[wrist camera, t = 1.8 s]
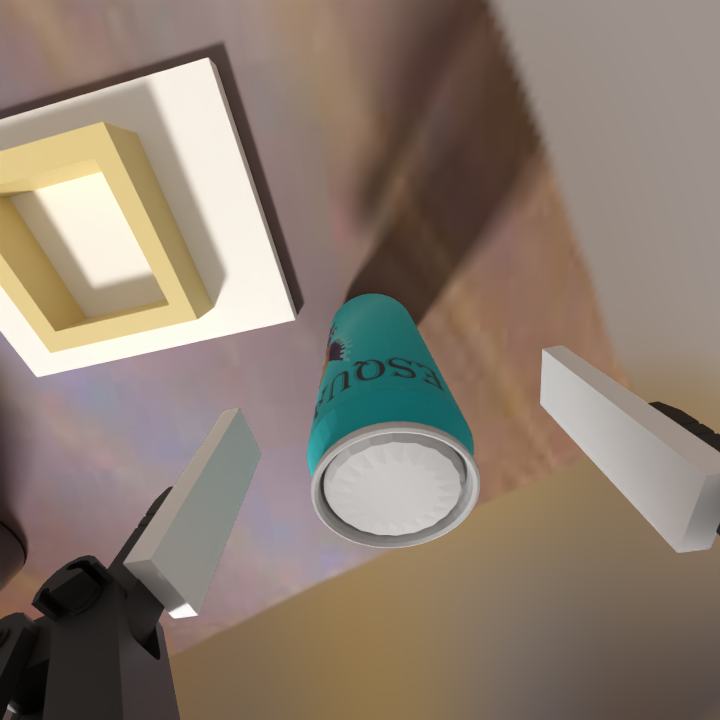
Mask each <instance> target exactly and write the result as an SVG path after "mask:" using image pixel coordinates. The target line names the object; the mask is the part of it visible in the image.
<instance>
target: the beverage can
mask: <svg viewBox="0 0 720 720" xmlns="http://www.w3.org/2000/svg"><path fill="white" fill-rule="evenodd" d="M307 460H308V467H309V470H310V473H311V476H312V480H311V498H312V503H313V506H314V509H315V511H316V513H317V514H318V516H319V518H320V519H321V520H322V521H323V523H324V524H325V525H326V526H327V527H328V528H330V529H331V530H332V531H333V532H335V533H336V534H338V535H340V536H341V537H343V538H345V539H348V540H350V541H352V542H355V543H358V544H362V545H366V546H371V547H380V548H400V547H408V546H413V545H418V544H422V543H425V542H428V541H431V540H433V539H436V538H438V537H440V536H442V535H444V534H446V533H447V532H449V531H451V530H452V529H454V528H455V527H456V526H457V525H459V524H460V523H461V522H462V521H463V520H464V519H465V518H466V517H467V516H468V515H469V513H470V512H471V510H472V509H473V507H474V505H475V503H476V501H477V499H478V495H479V491H480V476H479V471H478V466H477V464H476V462H475V460H474V458H473V439H472V434H471V431H470V429H469V427H468V424H467V422H466V421H465V419H464V417H463V415H462V413H461V411H460V409H459V407H458V405H457V403H456V402H455V400H454V398H453V396H452V394H451V392H450V390H449V388H448V386H447V384H446V383H445V381H444V379H443V377H442V375H441V373H440V371H439V369H438V367H437V365H436V363H435V362H434V360H433V358H432V356H431V354H430V352H429V350H428V348H427V346H426V344H425V343H424V341H423V339H422V337H421V335H420V333H419V331H418V329H417V327H416V325H415V324H414V322H413V320H412V318H411V316H410V314H409V313H408V311H407V310H406V308H405V307H404V306H403V305H402V304H401V303H399V302H398V301H397V300H395V299H393V298H391V297H389V296H386V295H383V294H364V295H360V296H357V297H355V298H353V299H351V300H349V301H348V302H346V303H345V304H344V305H343V306H342V307H341V308H340V309H339V310H338V312H337V313H336V315H335V317H334V319H333V321H332V324H331V329H330V334H329V339H328V344H327V349H326V355H325V360H324V365H323V370H322V376H321V381H320V386H319V391H318V396H317V402H316V407H315V412H314V417H313V423H312V428H311V433H310V438H309V444H308V451H307Z"/></svg>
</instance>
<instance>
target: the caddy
mask: <svg viewBox="0 0 720 720" xmlns="http://www.w3.org/2000/svg"><path fill="white" fill-rule="evenodd" d="M296 317H297V313H296V309H295V306H294V303H293V300H292V297H291V294H290V291H289V288H288V285H287V282H286V279H285V276H284V273H283V269H282V266H281V263H280V260H279V257H278V254H277V251H276V248H275V245H274V242H273V239H272V236H271V233H270V230H269V226H268V223H267V220H266V217H265V214H264V211H263V208H262V205H261V202H260V199H259V196H258V193H257V190H256V186H255V183H254V180H253V177H252V174H251V171H250V168H249V165H248V162H247V159H246V156H245V153H244V150H243V147H242V143H241V140H240V137H239V134H238V131H237V128H236V125H235V122H234V119H233V116H232V113H231V110H230V107H229V103H228V100H227V97H226V94H225V91H224V88H223V85H222V82H221V79H220V76H219V73H218V70H217V67H216V65H215V64H214V63H213V62H212V61H211V60H210V59H209V58H204V59H201V60H198V61H194V62H191V63H188V64H184V65H181V66H178V67H174V68H171V69H168V70H164V71H161V72H158V73H154V74H151V75H148V76H144V77H141V78H138V79H134V80H131V81H128V82H124V83H121V84H118V85H114V86H111V87H108V88H104V89H101V90H98V91H94V92H91V93H88V94H84V95H81V96H77V97H74V98H71V99H67V100H64V101H61V102H57V103H54V104H51V105H47V106H44V107H41V108H37V109H34V110H31V111H27V112H24V113H21V114H17V115H14V116H11V117H7V118H4V119H1V120H0V331H1V332H2V333H3V335H4V336H5V337H6V339H7V340H8V341H9V342H10V344H11V345H12V346H13V347H14V349H15V350H16V351H17V353H18V354H19V355H20V356H21V358H22V359H23V360H24V361H25V363H26V364H27V365H28V367H29V368H30V369H31V370H32V372H33V373H34V374H35V375H36V377H41V376H45V375H50V374H54V373H59V372H63V371H68V370H72V369H77V368H81V367H85V366H90V365H94V364H99V363H103V362H108V361H112V360H117V359H121V358H126V357H130V356H135V355H139V354H144V353H148V352H153V351H157V350H162V349H166V348H171V347H175V346H180V345H184V344H189V343H193V342H198V341H202V340H207V339H211V338H216V337H220V336H225V335H229V334H234V333H238V332H243V331H247V330H252V329H256V328H261V327H265V326H270V325H274V324H279V323H283V322H288V321H292V320H295V319H296Z"/></svg>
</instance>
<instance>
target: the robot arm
mask: <svg viewBox="0 0 720 720" xmlns="http://www.w3.org/2000/svg"><path fill="white" fill-rule="evenodd" d="M540 404H541V405H542V406H543V407H544V409H545V410H546V411H547V412H548V413H549V414H550V415H551V416H552V417H553V418H554V419H555V421H556V422H557V423H558V424H559V425H560V426H561V427H562V428H563V429H564V430H565V431H566V432H567V434H568V435H569V436H570V437H571V438H572V439H573V440H574V441H575V442H576V443H577V444H578V445H579V447H580V448H581V449H582V450H583V451H584V452H585V453H586V454H587V455H588V456H589V457H590V458H591V460H592V461H593V462H594V463H595V464H596V465H597V466H598V467H599V468H600V469H601V470H602V472H603V473H604V474H605V475H606V476H607V477H608V478H609V479H610V480H611V481H612V482H613V483H614V485H615V486H616V487H617V488H618V489H619V490H620V491H621V492H622V493H623V494H624V495H625V496H626V498H627V499H628V500H629V501H630V502H631V503H632V504H633V505H634V506H635V507H636V508H637V509H638V511H639V512H640V513H641V514H642V515H643V516H644V517H645V518H646V519H647V520H648V521H649V523H650V524H651V525H652V526H653V527H654V528H655V529H656V530H657V531H658V532H659V533H660V534H661V536H662V537H663V538H664V539H665V540H666V541H667V542H668V543H669V544H670V545H671V546H672V547H673V549H674V550H675V551H676V552H677V553H681V552H689V551H695V550H704V549H710V548H711V546H712V543H713V541H714V539H715V537H716V534H717V533H718V534H719V535H720V435H719V434H715V433H714V431H713V430H711V429H710V428H708V427H707V426H705V425H703V424H699V422H698V421H697V420H696V419H694V418H692V417H691V416H689V415H688V414H686V413H685V412H683V411H681V410H679V409H677V408H674V407H671V406H669V405H666V404H663V403H661V402H653V403H646V402H645V401H643V400H642V399H641V398H639V397H638V396H636V395H635V394H633V393H632V392H630V391H629V390H627V389H626V388H624V387H623V386H621V385H620V384H619V383H617V382H616V381H614V380H613V379H611V378H610V377H608V376H607V375H605V374H604V373H602V372H601V371H599V370H598V369H596V368H595V367H594V366H592V365H591V364H589V363H588V362H586V361H585V360H583V359H582V358H580V357H579V356H577V355H576V354H574V353H573V352H571V351H570V350H569V349H567V348H566V347H564V346H563V345H560V346H555V347H550V348H545V349H543V350H542V374H541V397H540ZM260 456H261V451H260V449H259V447H258V445H257V443H256V441H255V439H254V437H253V435H252V433H251V431H250V428H249V426H248V424H247V422H246V420H245V418H244V416H243V414H242V412H241V410H240V408H236V409H230V410H225V411H223V412H222V414H221V415H220V417H219V418H218V420H217V421H216V423H215V425H214V426H213V428H212V429H211V431H210V432H209V434H208V435H207V437H206V438H205V440H204V441H203V443H202V444H201V446H200V447H199V449H198V450H197V452H196V453H195V455H194V456H193V458H192V459H191V461H190V462H189V464H188V465H187V467H186V468H185V470H184V471H183V473H182V475H181V476H180V478H179V479H178V481H177V482H176V484H175V485H174V486H173V487H169V488H167V489H166V490H165V491H164V492H163V493H162V494H161V495H160V496H159V497H158V498H157V499H156V500H155V501H154V503H153V504H152V506H151V507H150V509H149V510H148V511H147V513H146V516H145V517H143V519H142V520H141V522H140V523H139V524H138V528H136V529H135V530H134V532H133V533H132V535H131V536H130V537H129V539H128V540H127V542H126V543H125V545H124V546H123V548H122V549H121V551H120V552H119V553H118V555H117V556H116V558H115V559H114V561H113V562H112V564H111V565H110V566H109V568H108V569H106V568H105V567H104V566H103V565H102V564H101V563H100V562H99V561H98V559H97V558H96V557H95V556H90V555H87V556H83V557H79V558H77V559H75V560H73V561H71V562H69V563H67V564H66V565H65V566H63V567H62V568H61V569H59V570H58V571H56V572H55V573H54V574H53V575H52V576H51V577H50V578H49V579H48V580H47V581H46V582H45V583H44V584H43V585H42V587H41V588H40V589H39V591H38V592H37V593H36V595H35V597H34V600H33V602H32V604H31V605H33V606H34V607H35V608H37V609H38V610H39V611H40V612H42V613H43V614H44V615H45V616H43V617H40V618H38V619H36V620H34V621H33V620H32V619H31V618H29V617H28V616H27V615H26V614H24V613H17V612H16V613H13V614H11V615H8V616H5V617H4V618H2V619H0V720H2V719H3V716H4V714H5V712H6V709H9V710H10V711H12V712H13V714H12V717H11V719H10V720H180V716H179V711H178V706H177V701H176V695H175V690H174V685H173V680H172V675H171V669H170V664H169V658H168V653H167V648H166V642H165V637H164V632H163V628H162V626H161V624H160V623H159V622H158V620H159V618H160V616H161V614H162V611H163V609H164V608H165V609H166V610H167V611H168V613H169V614H170V615H171V616H172V617H173V618H182V617H189V616H197V615H198V614H199V612H200V609H201V607H202V604H203V602H204V599H205V597H206V594H207V591H208V589H209V586H210V584H211V581H212V579H213V576H214V574H215V571H216V568H217V566H218V563H219V561H220V558H221V556H222V553H223V551H224V548H225V546H226V543H227V540H228V538H229V535H230V533H231V530H232V528H233V525H234V523H235V520H236V517H237V515H238V512H239V510H240V507H241V505H242V502H243V500H244V497H245V495H246V492H247V489H248V487H249V484H250V482H251V479H252V477H253V474H254V472H255V469H256V466H257V464H258V461H259V459H260ZM24 560H25V558H24V552H23V549H22V547H21V545H20V543H19V542H18V540H17V539H16V538H15V537H14V535H13V534H12V533H11V532H10V531H9V530H8V529H6V528H5V527H4V526H3V525H2V524H0V591H1V590H3V589H4V587H5V586H6V585H7V584H8V583H9V582H10V581H11V580H12V579H13V578H14V577H15V576H16V574H17V573H18V572H19V571H20V570H21V569H22V567H23V565H24Z"/></svg>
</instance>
